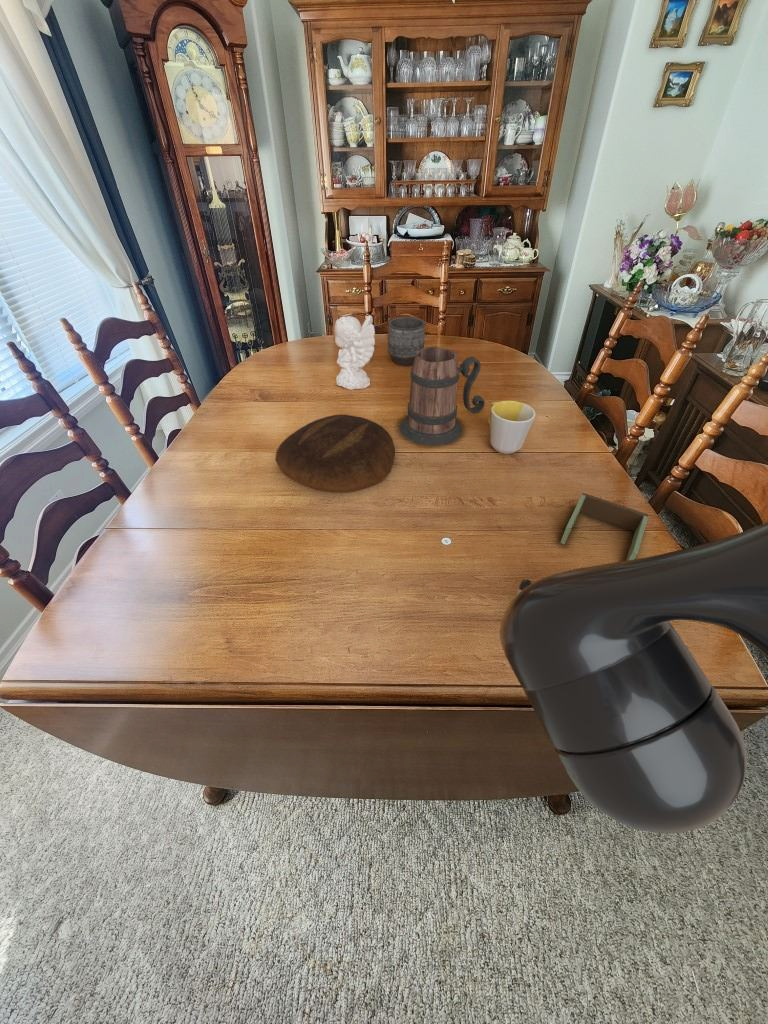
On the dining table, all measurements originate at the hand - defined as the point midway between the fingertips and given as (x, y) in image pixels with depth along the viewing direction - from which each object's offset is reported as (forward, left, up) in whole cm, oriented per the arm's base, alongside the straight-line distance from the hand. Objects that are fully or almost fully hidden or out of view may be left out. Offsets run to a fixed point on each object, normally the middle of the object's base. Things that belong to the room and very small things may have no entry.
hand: (583, 614), depth 49 cm
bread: (+63, -19, -19) cm, 69 cm away
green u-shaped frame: (+6, -35, -19) cm, 41 cm away
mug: (+37, -52, -19) cm, 67 cm away
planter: (+89, -75, -19) cm, 119 cm away
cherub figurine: (+91, -53, -19) cm, 107 cm away
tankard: (+54, -49, -19) cm, 76 cm away
